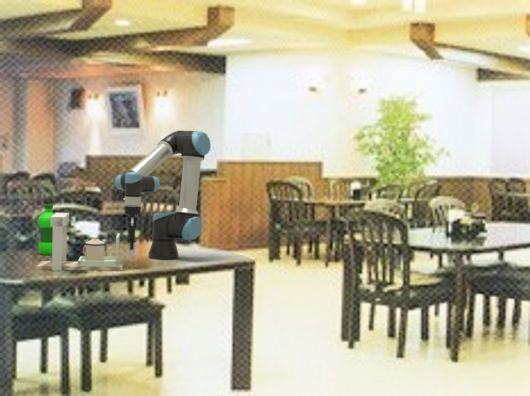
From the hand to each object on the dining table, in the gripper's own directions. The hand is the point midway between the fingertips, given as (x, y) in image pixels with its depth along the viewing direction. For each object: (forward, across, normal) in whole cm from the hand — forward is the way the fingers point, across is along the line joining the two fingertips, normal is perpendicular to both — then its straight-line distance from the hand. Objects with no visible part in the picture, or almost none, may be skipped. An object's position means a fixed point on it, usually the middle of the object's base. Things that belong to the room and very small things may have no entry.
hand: (131, 256), depth 437 cm
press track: (+5, 0, -23) cm, 23 cm away
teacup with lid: (+3, 0, -18) cm, 18 cm away
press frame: (+5, 0, -33) cm, 33 cm away
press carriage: (+4, 0, -15) cm, 15 cm away
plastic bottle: (+6, -44, -43) cm, 62 cm away
